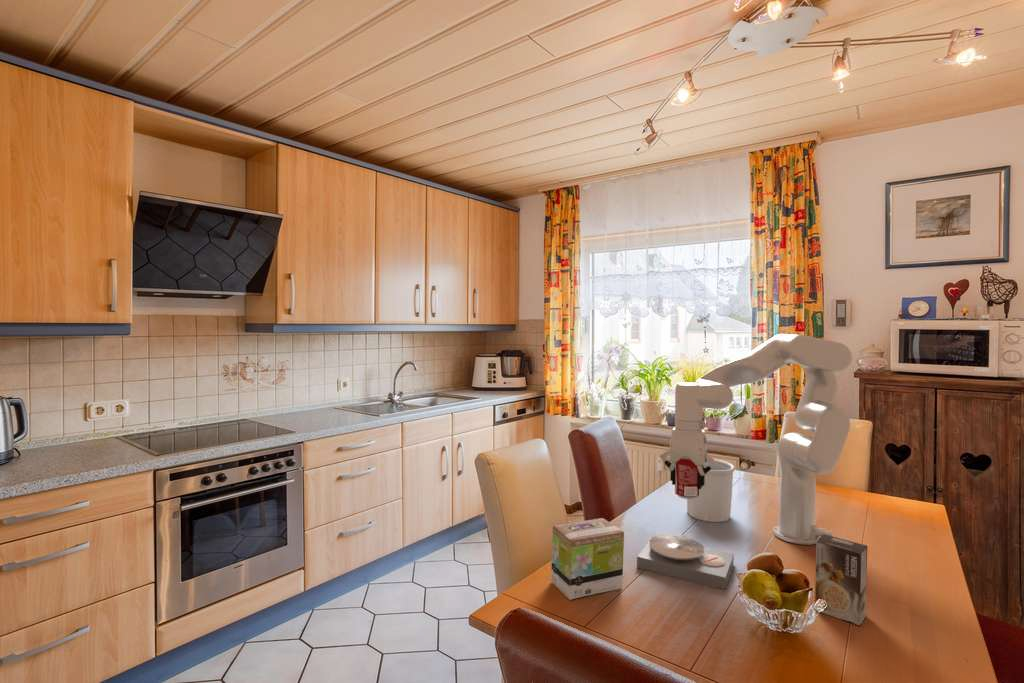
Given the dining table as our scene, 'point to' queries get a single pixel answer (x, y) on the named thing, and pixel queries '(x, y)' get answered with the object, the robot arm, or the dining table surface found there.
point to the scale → (690, 566)
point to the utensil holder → (714, 494)
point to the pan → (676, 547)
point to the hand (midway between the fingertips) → (687, 485)
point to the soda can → (686, 479)
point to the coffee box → (841, 578)
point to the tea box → (587, 557)
